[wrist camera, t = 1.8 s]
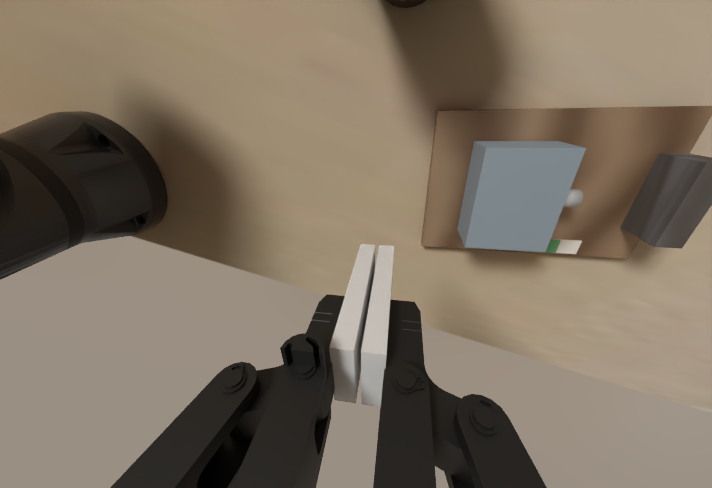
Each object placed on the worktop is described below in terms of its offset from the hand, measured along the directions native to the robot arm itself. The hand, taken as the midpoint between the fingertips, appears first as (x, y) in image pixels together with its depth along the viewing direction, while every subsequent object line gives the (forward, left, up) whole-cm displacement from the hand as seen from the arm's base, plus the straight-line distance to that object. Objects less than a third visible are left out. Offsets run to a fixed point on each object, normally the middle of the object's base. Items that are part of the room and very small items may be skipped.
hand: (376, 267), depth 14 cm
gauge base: (+14, 0, -16) cm, 22 cm away
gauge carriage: (+12, -1, -15) cm, 19 cm away
